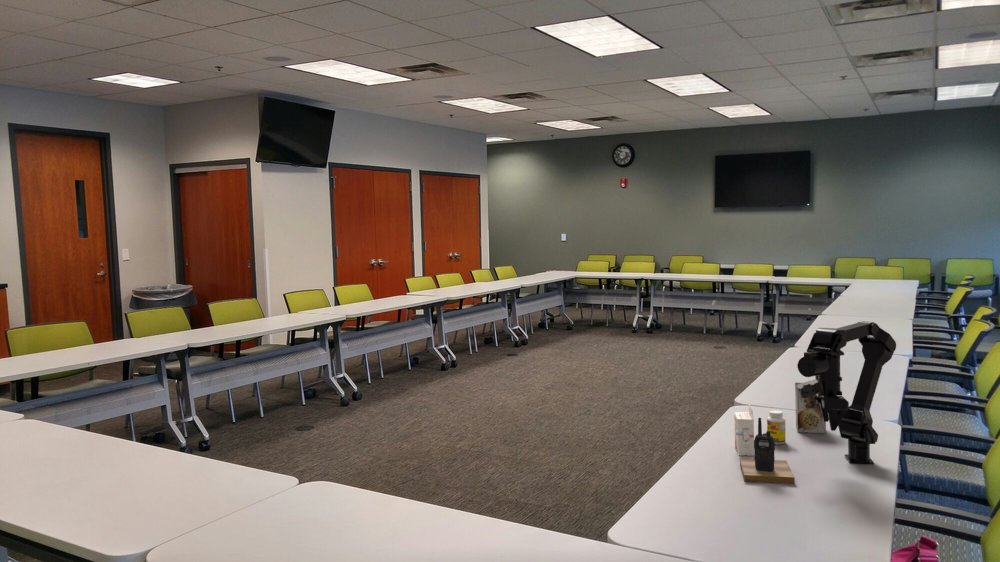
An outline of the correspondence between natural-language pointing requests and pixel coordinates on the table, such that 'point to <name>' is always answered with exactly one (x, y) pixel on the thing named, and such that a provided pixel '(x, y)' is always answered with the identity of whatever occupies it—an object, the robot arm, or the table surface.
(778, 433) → the supplement bottle
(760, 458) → the two-way radio
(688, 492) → the table surface
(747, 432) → the ink cartridge box
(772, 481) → the tan flat wooden block
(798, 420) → the coffee box
